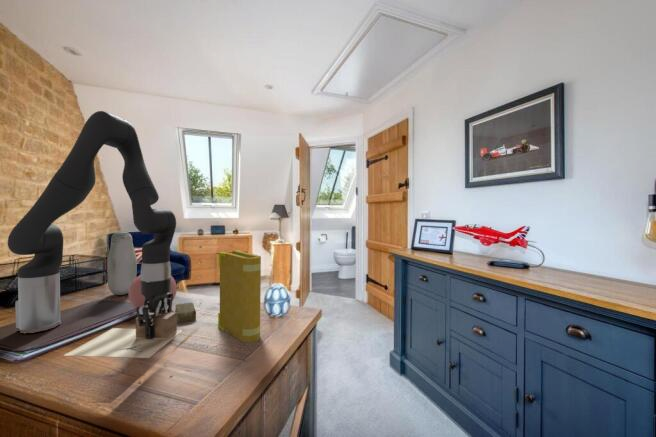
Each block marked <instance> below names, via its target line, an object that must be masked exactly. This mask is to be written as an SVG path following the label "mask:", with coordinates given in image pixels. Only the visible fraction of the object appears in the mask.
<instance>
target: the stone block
mask: <svg viewBox="0 0 656 437" xmlns="http://www.w3.org/2000/svg"><path fill="white" fill-rule="evenodd" d="M175 312H177V323H178V324H184V323H188V322H194V321H196V320H197V311H196V308H195V305H194V303H193V302H186V303H185V302H184V303H178V304H175Z"/></svg>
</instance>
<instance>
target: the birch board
mask: <svg viewBox="0 0 656 437" xmlns="http://www.w3.org/2000/svg"><path fill="white" fill-rule="evenodd" d="M183 331H184V330H183V329H177V332H176V333H175V334H173V335H172V336H171V337H170V338H168V339H167V340H164V339H136V328H116V327H115V328H114V327H112V328H111V329H109V330H107V331H105V332H103V333H102V334H100V335H97V336H96V337H94V338H93V339H91V340H89V341H87V342H85V343H84V344H83V343H82V345H80V346H78V347H76V348H74V349H73V350H70V351H69V352H66V353H65V354H63V356H65V357H66V356H67V357H68V356H69V357H94V358H95V357H98V358H99V357H101V358H102V357H103V358H132V359H135V358H136V359H139V358H140V359H142V358H143V359H150V358H151V357H152V356H154V355H155V354H156V353H157V352H158V351H160V350H161V349H162V348H163V347H164V346H166V345H167V344H168V343H169V342H171V340H173V339H175V338H176V337H177V336H178V335H179V334H180V333H182V332H183Z"/></svg>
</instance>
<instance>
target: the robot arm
mask: <svg viewBox="0 0 656 437" xmlns="http://www.w3.org/2000/svg"><path fill="white" fill-rule="evenodd" d="M139 141H140V140H139V137H138V135H137V131H136V129H135V127H134V126H133V124H132V123H130V122H129V121H127V120H125V119H124V118H121V117H119V116H116V115H114V114H112V113H109V112H107V111H104V110H99V111H96V112H94V113H92V114H91V115H90V116H89V117H88V119H87V120H86V121H85V124H84V125H83V127H82V129H81V131H80V133H79V135H78V137H77V139H76V141H75V143H74V144H73V147H72V148H71V150H70V152H69V153H68V155H67V156H66V158H65V160H64V161H63V163H62V164H61V165H60V167H59V168H58V170H57V171H56V172H55V173H54V175H53V177H52V178H51V179H50V181H49V183H48V184H47V186H46V187H45V189H44V190H43V192H42V193H41V195H40V196H39V197H38V198H37V200H36V202H34V204H33V206H32V207H30V209H29V210H28V211H27V213H26V214H25V215H24V216H23V217H22V218H21V219H20V220H19V221H18V222H17V223H16V224H15V225H14V227H13V228H12V230H11V231H10V233H9V235H8V237H7V247H8V250H10V252H11V253H13V254H15V255H18V256H31V255H34V256H33V258H32V259H30V260H29V261H28V262H27V263H24V264H23V265H20V267H18V269H17V289H18V292H17V293H18V297H17V298H18V300H15V302H14V303H15V305H14V306H15V307H14V308H15V309H14V310H15V329H16V328H19V329H20V330H33V329H40V328H45V327H49V326H52V325H54V324H56V323H58V322H60V323H61V283H60V282H61V280H60V276H61V275H60V273H61V272H60V268H61V266H62V265H63V264H62V263H63V256H64V255H63V254H64V234H63V232H62V230H61V228H60V227H59V226H58V225H56V224H54V222H56V220H58V219H59V218H61V217H63V216H64V215H66V214H67V213H69V212H70V211H72V210H73V209H75V208H77V207H78V206H79V205H81V204H82V203H83V202H84V201H85V199H87V197H88V196H89V194H90V193H91V191H92V190H93V188H94V187H95V184H96V168H95V160H96V156H97V155H98V153H99V151H100V150H101V149H102V147H103V146H104V145H105V146H109V147H111V148H114V149H117V151H118V152H119V153H120V156H121V157H122V159H123V161H124V163H123V164H124V166H123V171H122V183H123V186H124V188H125V191H126V193H127V195H128V197H129V199H130V202H131V209H132V218H133V225H134V226H135V228H136V229H137V231H138V232H140V233H141V234H146V235H151V234H154V235H153V239H151V240H149V241H146V242H145V243H143V244H142V246H141V267H140V275H141V294H142V295H143V296H144V297H145V301H144V305H143V306H142V307H137V309H136V308H135V309H136V310H135V312H136V316H137V317H138V322H139V326H140V327H142V326H144V327H145V337H146V339H153V338H154V337H155V325H154V324H155V318H156V317H158V313H159V312H163V313H165V312H172V307H173V301H174V299H173V293H169V292H170V291H171V276H172V267H171V245H172V242H173V238H174V235H175V232H176V228H177V220H176V219H177V218H176V215H175V214H174V212H173V211H171V209H170V210H169V209H166V208H152V206H153V205H155V204H156V203H157V202H158V201H159V199H160V198H159V197H160V196H159V193H158V191H157V189H156V187H155V184H154V183H153V180H152V178H151V177H150V174H149V172H148V169H147V166H146V163H145V160H144V155H143V152H142V148H141V145H140V142H139ZM167 305H168V306H167ZM149 313H154V314H149ZM137 317H136V318H137ZM150 317H151V318H152V319H151V322H150ZM143 320H144V322H143Z"/></svg>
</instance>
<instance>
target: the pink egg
mask: <svg viewBox="0 0 656 437" xmlns="http://www.w3.org/2000/svg"><path fill="white" fill-rule="evenodd" d="M177 289H178V287H177V282H176V280H175V279H174V277H173V276H172V275H171V291H170V292H169V293H173V300H175V297H176V295H177V292H178V290H177ZM127 295H128V300H129V302H130V304H131V305H132V306H133V307H134V308H135V309H137V307H142V306H143V305H144V301H145V297H144V296H143V295H142V294H141V274H139V275H138V276H137V278H136V279H135V280H134V281H133V282H132V284H131V286H130V288H129V293H128V294H127ZM167 306H168V305H167Z"/></svg>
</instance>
